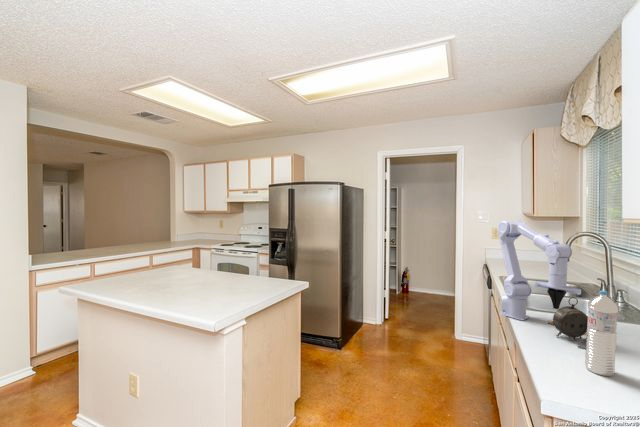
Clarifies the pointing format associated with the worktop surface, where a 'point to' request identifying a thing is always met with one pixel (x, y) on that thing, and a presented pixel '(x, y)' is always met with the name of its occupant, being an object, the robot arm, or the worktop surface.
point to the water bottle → (601, 335)
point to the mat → (582, 344)
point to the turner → (553, 324)
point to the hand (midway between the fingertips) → (556, 308)
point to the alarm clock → (570, 321)
